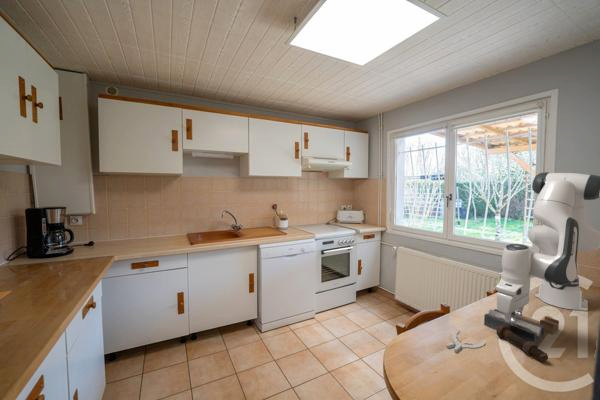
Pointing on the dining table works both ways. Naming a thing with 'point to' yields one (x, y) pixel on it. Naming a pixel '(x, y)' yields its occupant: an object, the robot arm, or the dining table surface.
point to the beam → (543, 323)
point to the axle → (517, 322)
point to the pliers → (458, 345)
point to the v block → (515, 327)
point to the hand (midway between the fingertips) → (513, 318)
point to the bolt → (521, 343)
